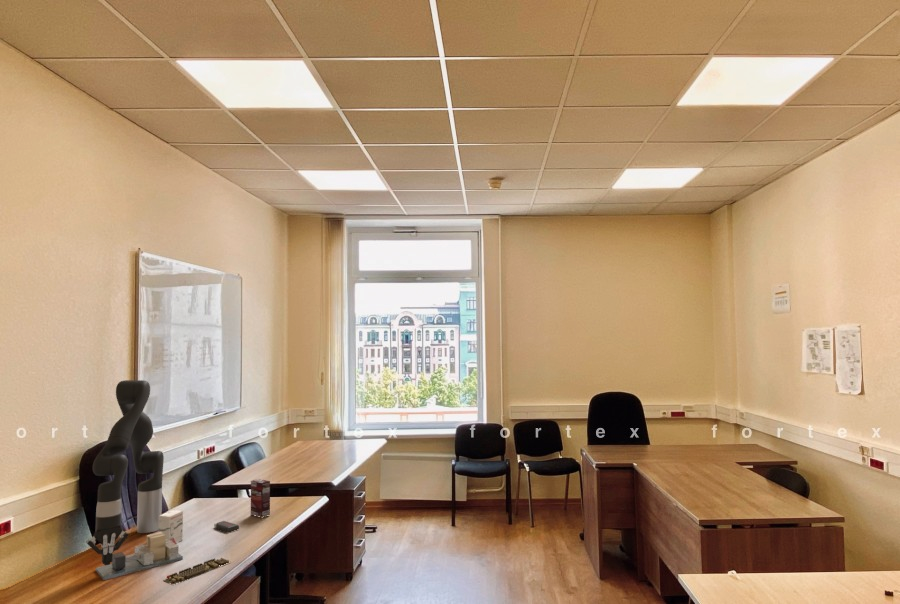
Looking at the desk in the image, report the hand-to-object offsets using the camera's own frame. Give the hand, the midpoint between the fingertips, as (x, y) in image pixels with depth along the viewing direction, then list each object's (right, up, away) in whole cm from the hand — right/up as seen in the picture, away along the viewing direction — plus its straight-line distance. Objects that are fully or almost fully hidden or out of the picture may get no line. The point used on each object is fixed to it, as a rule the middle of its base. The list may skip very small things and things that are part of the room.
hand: (106, 564), depth 189 cm
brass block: (+11, -3, +11) cm, 16 cm away
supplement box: (+31, -8, +63) cm, 71 cm away
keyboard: (+31, -3, 0) cm, 32 cm away
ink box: (+7, -6, +29) cm, 30 cm away
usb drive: (+23, -7, +45) cm, 51 cm away
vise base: (+8, -3, +7) cm, 11 cm away
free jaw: (+6, -2, +5) cm, 8 cm away
